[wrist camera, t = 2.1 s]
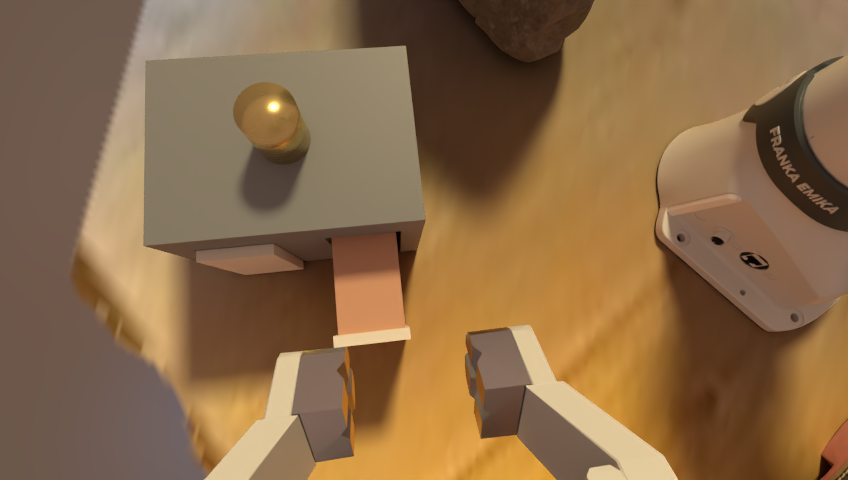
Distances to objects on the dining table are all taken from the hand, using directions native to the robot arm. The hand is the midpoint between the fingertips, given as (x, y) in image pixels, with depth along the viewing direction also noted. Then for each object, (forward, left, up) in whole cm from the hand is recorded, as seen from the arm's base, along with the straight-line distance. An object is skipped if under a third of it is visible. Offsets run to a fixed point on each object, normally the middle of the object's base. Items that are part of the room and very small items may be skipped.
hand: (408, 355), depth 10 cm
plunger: (+6, -1, -29) cm, 30 cm away
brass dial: (+15, -1, -16) cm, 22 cm away
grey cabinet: (+15, -1, -29) cm, 33 cm away
